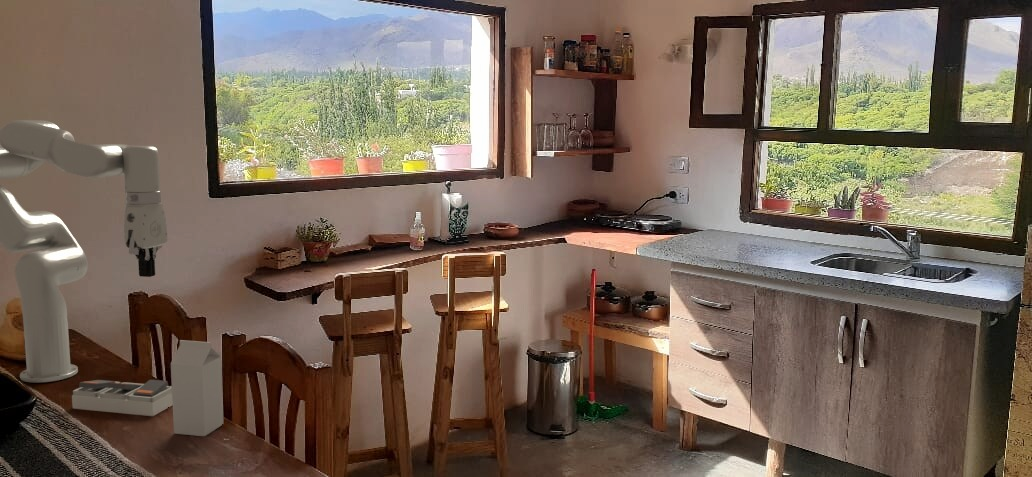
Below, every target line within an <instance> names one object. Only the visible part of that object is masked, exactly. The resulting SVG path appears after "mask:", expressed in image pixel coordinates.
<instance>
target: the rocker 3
mask: <svg viewBox="0 0 1032 477" xmlns="http://www.w3.org/2000/svg"><path fill="white" fill-rule="evenodd" d="M143 384H144V385H143V386H142V387H140V388H139V389H138V390H137V391H136V392H134V393H133V394H134V395H135V396H146V397H153V396H155V395H157V394H158V393H159V392H161V391H162V390H163V389H164V388H165V387H166V386H169V382H168V380H159V379H149V380H147V381H146V382H145V383H143Z"/></svg>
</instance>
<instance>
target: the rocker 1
mask: <svg viewBox="0 0 1032 477" xmlns="http://www.w3.org/2000/svg"><path fill="white" fill-rule="evenodd" d="M115 381H116V380H115ZM115 381H114V380H104V379H96V380H88V381H87V380H86V381H80V382H79V385H78V388H80V387H83V388H94V389H98V388H104V387H106V385H107V383H115Z"/></svg>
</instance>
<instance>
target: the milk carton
mask: <svg viewBox="0 0 1032 477" xmlns="http://www.w3.org/2000/svg"><path fill="white" fill-rule="evenodd" d="M222 372H223V371H222V356H221V355H220V354H219V353H218V352H217V351H216V350H215V349H214V348H213V347H212V342H208V341H197V340H185V339H184V340H183V339H180V340H179V346H178V348H177V351H176V353H175V354H174V356H173V358H172V360H171V362H170V378H171V386H172V402H173V405H172V419H173V421H172V422H173V434H174V435H175V434H176V435H186V436H187V435H189V436H197V437H206V436H207V435H210V434H211V433H213V432H214V431H215V430H216V429H219V428H220V427H221V426H223V425H224V404H223V403H224V402H223V401H224V400H223V399H224V398H223V379H222V378H223V376H222V374H223V373H222ZM222 424H223V425H222Z"/></svg>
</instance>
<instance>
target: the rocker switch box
mask: <svg viewBox="0 0 1032 477" xmlns="http://www.w3.org/2000/svg"><path fill="white" fill-rule="evenodd" d="M115 383H121V384H128V385H139V386H140V387H142V386H143V385H144V384H145V383H137V382H135V383H134V382H128V381H127V382H123V381H116V380H115ZM140 387H138V388H136V389H134V390H130V389H117V388H106V387H104V388H98V389H94V388H83V387H78V388H75V389H74V390H72V395H71V403H72V404H71V405H72V409H74V410H85V411H96V412H103V413H104V412H107V413H116V414H117V413H118V414H125V415H136V416H148V417H154V416H156V415H157V414H159V413H161V412H163V411H165V410H167V409H169V408H171V407H173V402H172V385H170V386H169V385H168V386H166V387H165V388H164V389H163V390H162V391H161V392H159V393H158V394H157V395H155V396H153V397H146V396H135V395H134V394H133V393H134V392H136V391H137V390H138V389H139V388H140ZM168 407H169V408H168Z"/></svg>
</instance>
